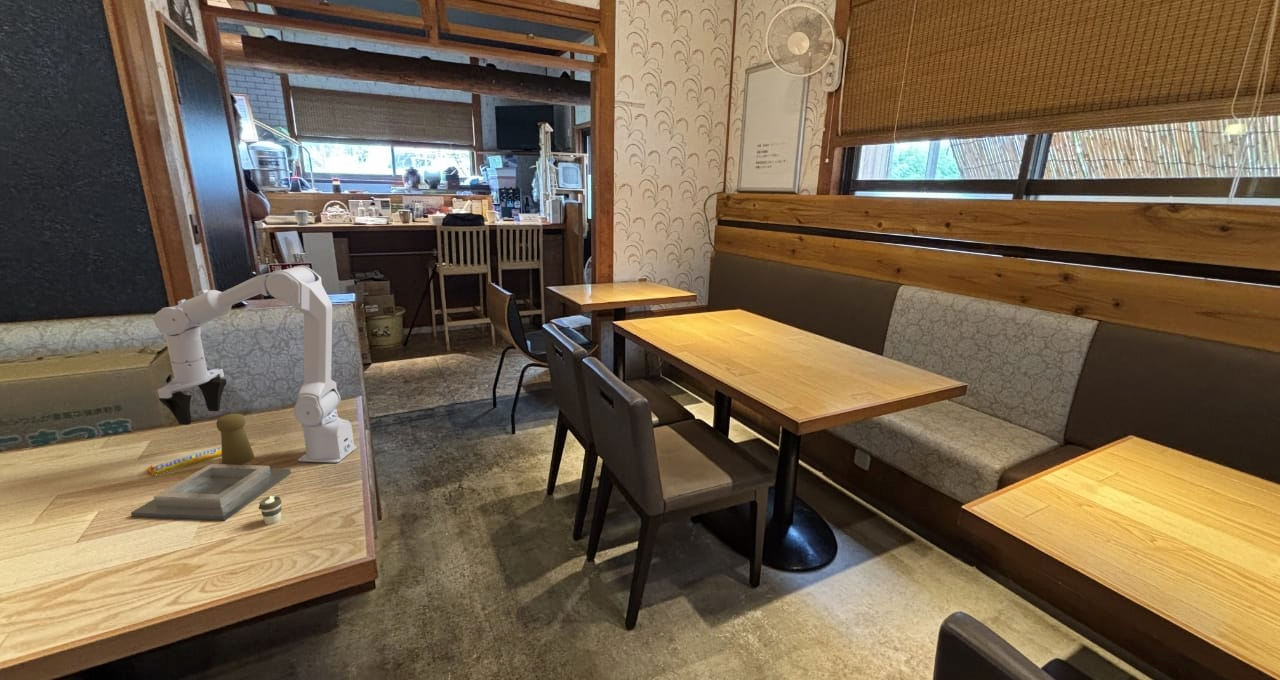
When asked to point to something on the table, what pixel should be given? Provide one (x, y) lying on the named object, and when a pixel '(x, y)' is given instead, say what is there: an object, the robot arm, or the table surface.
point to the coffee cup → (271, 509)
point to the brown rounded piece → (234, 440)
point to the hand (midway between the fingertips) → (200, 417)
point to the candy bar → (186, 461)
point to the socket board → (212, 493)
